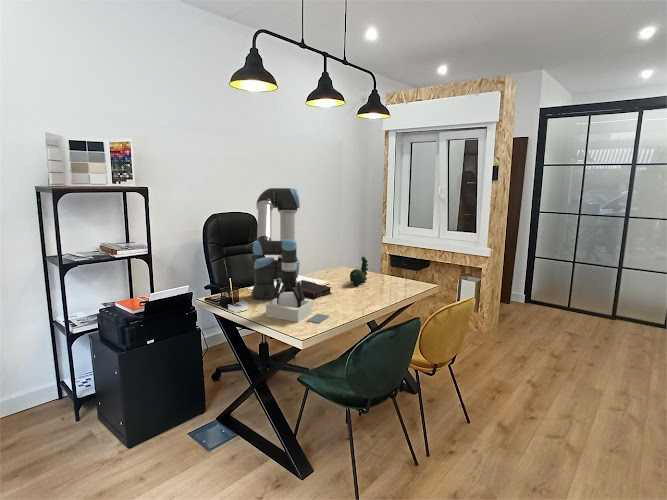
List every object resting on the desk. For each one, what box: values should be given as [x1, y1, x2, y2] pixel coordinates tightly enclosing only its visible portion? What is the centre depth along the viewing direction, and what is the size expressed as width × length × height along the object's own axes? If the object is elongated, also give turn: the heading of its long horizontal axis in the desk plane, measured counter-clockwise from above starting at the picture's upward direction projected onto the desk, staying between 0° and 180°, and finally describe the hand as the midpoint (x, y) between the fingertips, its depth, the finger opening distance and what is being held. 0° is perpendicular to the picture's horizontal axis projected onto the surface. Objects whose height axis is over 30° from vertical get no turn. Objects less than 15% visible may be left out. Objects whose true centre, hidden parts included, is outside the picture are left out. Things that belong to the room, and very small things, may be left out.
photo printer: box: [279, 292, 297, 308], centre depth 204 cm, size 10×4×12 cm, turn 96°
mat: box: [306, 313, 330, 324], centre depth 201 cm, size 7×12×1 cm, turn 156°
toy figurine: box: [349, 256, 369, 287], centre depth 271 cm, size 9×19×25 cm
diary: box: [283, 279, 333, 300], centre depth 247 cm, size 19×25×5 cm
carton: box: [262, 298, 314, 323], centre depth 205 cm, size 19×19×7 cm
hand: (288, 311), depth 205 cm, fingers closed on photo printer, 10 cm apart
